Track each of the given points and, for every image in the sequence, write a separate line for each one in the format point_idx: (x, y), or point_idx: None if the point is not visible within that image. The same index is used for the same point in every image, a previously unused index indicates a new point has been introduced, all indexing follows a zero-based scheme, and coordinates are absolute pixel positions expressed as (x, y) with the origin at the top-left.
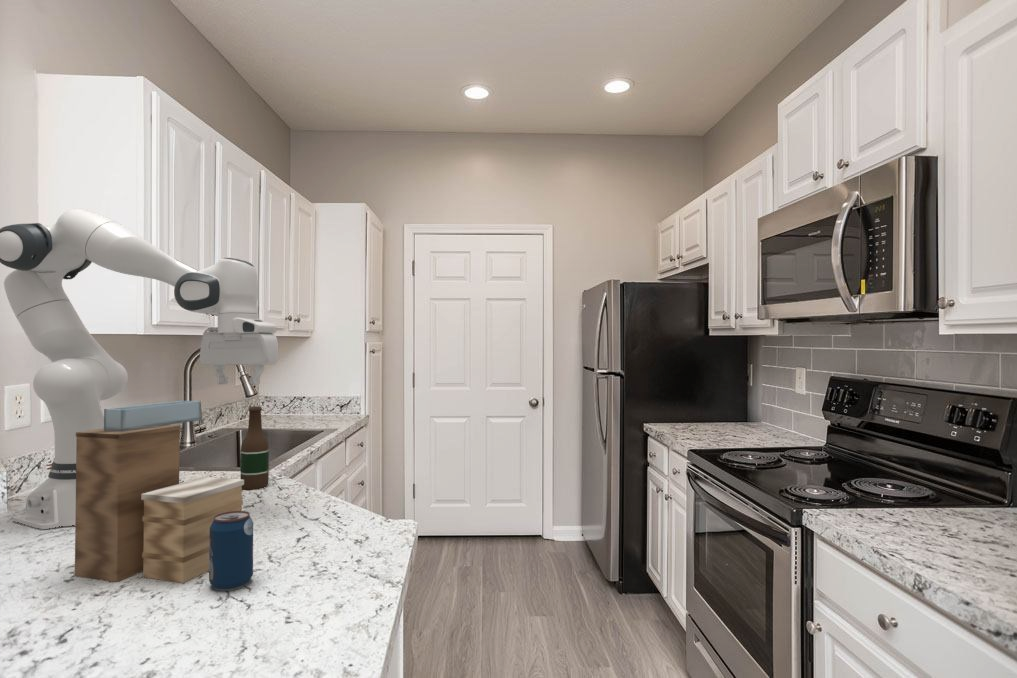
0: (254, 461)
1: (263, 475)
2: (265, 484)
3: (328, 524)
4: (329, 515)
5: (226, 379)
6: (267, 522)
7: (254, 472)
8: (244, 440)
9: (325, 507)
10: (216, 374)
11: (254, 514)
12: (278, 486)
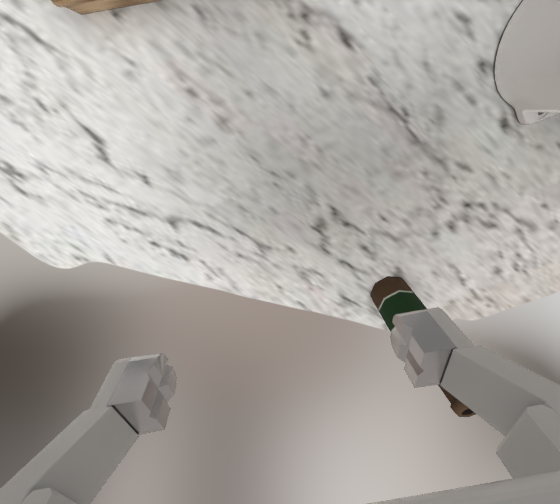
0: (397, 311)
1: (378, 303)
2: (372, 296)
3: (132, 212)
4: (173, 243)
5: (406, 362)
6: (221, 179)
7: (388, 298)
8: None
9: (213, 266)
10: (498, 361)
11: (276, 199)
12: (358, 304)
